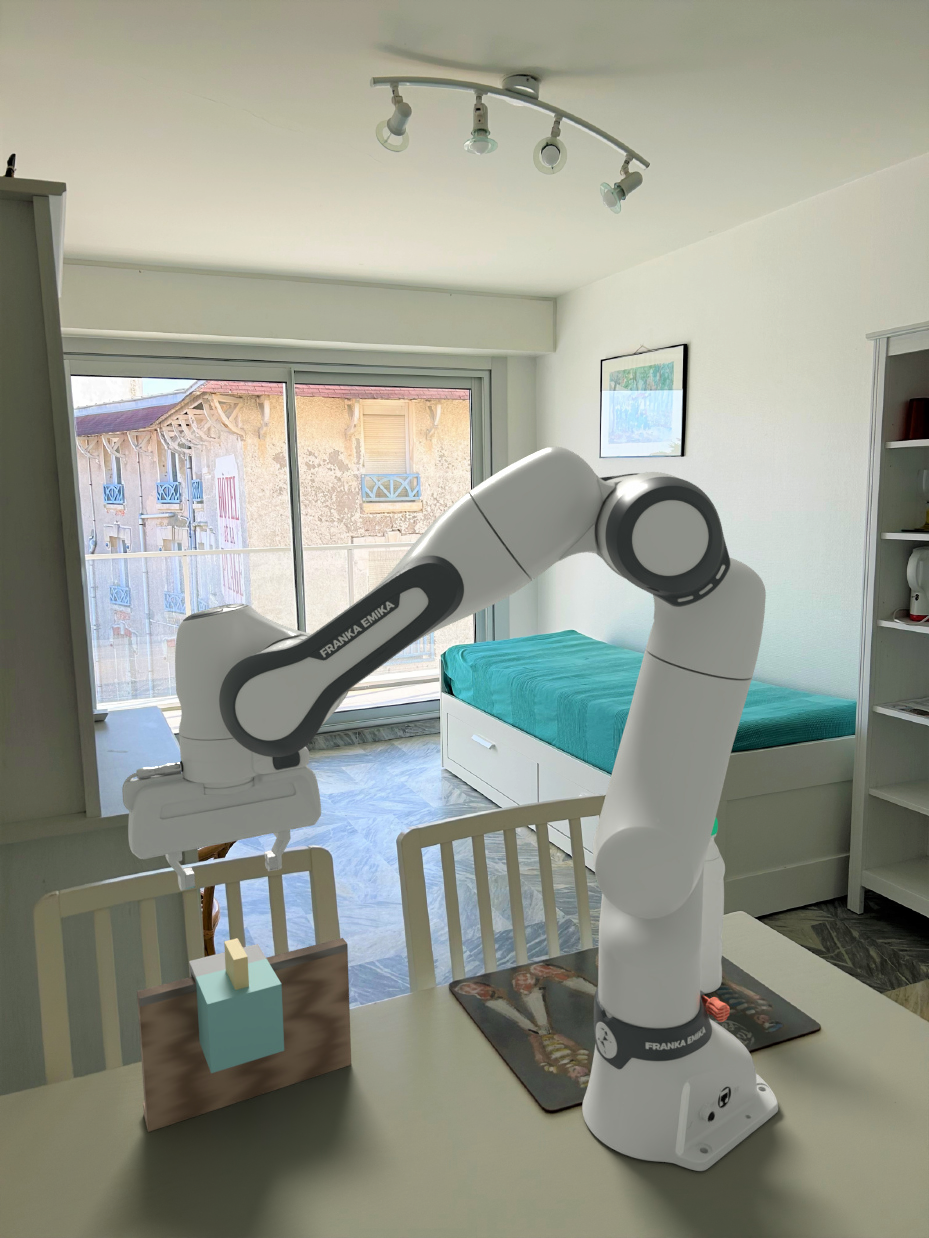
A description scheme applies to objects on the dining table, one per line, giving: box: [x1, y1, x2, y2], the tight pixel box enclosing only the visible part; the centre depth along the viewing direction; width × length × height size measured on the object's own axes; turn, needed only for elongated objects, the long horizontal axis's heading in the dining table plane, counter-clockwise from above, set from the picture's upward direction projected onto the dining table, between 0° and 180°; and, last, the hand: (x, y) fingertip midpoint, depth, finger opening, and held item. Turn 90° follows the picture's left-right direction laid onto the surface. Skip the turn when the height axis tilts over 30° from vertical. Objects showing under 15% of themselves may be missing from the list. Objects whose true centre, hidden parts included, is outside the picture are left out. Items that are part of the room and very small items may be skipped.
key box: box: [188, 938, 284, 1073], centre depth 99 cm, size 8×10×12 cm
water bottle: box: [700, 816, 726, 995], centre depth 124 cm, size 7×7×25 cm
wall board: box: [136, 937, 352, 1133], centre depth 104 cm, size 24×3×16 cm, turn 118°
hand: (231, 877), depth 96 cm, fingers open, 8 cm apart
